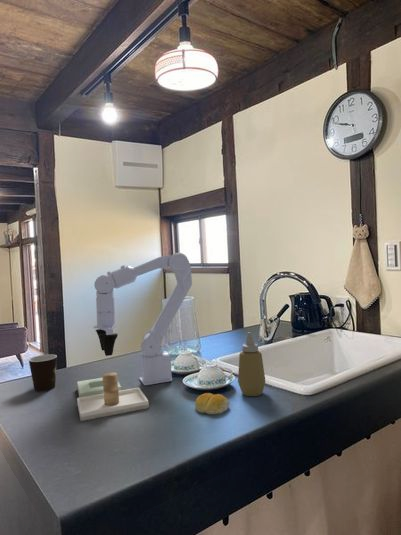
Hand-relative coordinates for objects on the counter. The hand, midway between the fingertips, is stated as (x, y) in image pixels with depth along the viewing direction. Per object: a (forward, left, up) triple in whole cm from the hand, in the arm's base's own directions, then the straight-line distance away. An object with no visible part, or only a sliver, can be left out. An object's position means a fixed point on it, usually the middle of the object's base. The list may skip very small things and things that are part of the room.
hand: (106, 352), depth 128 cm
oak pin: (+2, +20, -9) cm, 23 cm away
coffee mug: (+19, -8, -11) cm, 23 cm away
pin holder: (+4, +6, -11) cm, 13 cm away
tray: (+2, +20, -11) cm, 23 cm away
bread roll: (-23, +35, -11) cm, 43 cm away
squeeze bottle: (-37, +30, -11) cm, 49 cm away
